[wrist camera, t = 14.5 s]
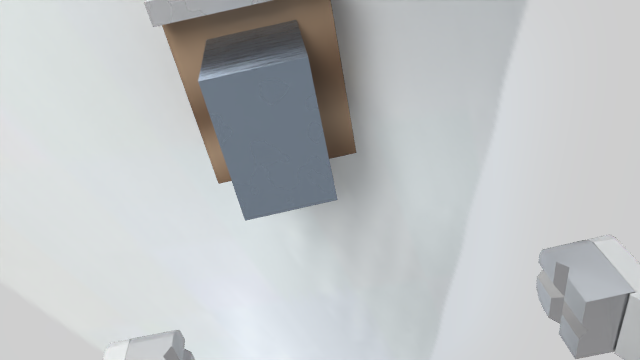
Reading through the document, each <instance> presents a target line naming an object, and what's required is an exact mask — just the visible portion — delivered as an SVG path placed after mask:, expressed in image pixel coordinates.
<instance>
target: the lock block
mask: <svg viewBox="0 0 640 360" xmlns="http://www.w3.org/2000/svg"><path fill="white" fill-rule="evenodd" d="M198 83H199V86H200V88H201V91H202V94H203V97H204V100H205V103H206V106H207V109H208V112H209V115H210V118H211V121H212V124H213V127H214V130H215V133H216V136H217V139H218V142H219V145H220V148H221V151H222V153H223V156H224V159H225V162H226V165H227V168H228V171H229V174H230V177H231V180H232V183H233V186H234V189H235V192H236V195H237V198H238V201H239V204H240V207H241V210H242V213H243V216H244V218H245V220H250V219H254V218H259V217H263V216H267V215H272V214H276V213H281V212H285V211H290V210H294V209H299V208H303V207H308V206H312V205H316V204H321V203H325V202H330V201H334V200H337V196H336V191H335V186H334V181H333V176H332V171H331V166H330V162H329V157H328V152H327V147H326V142H325V137H324V132H323V127H322V122H321V118H320V113H319V108H318V103H317V98H316V93H315V88H314V83H313V79H312V74H311V69H310V64H309V59H308V55H307V52H306V49H305V45H304V42H303V39H302V36H301V32H300V29H299V26H298V23H297V20H292V21H288V22H283V23H279V24H274V25H270V26H265V27H261V28H256V29H252V30H247V31H243V32H238V33H234V34H229V35H225V36H220V37H216V38H211V39H207V40H206V44H205V49H204V54H203V59H202V64H201V69H200V74H199V79H198Z"/></svg>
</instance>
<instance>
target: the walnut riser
mask: <svg viewBox="0 0 640 360" xmlns="http://www.w3.org/2000/svg"><path fill="white" fill-rule="evenodd" d="M144 3H145V6H146V9H147V12H148V14H149V17H150V20H151V23H152V25H153V27H155V26H160V25H162V26H163V29H164V32H165V35H166V38H167V40H168V43H169V46H170V49H171V52H172V54H173V57H174V60H175V63H176V66H177V68H178V71H179V74H180V77H181V80H182V82H183V85H184V88H185V91H186V94H187V96H188V99H189V102H190V105H191V108H192V110H193V113H194V116H195V119H196V122H197V124H198V127H199V130H200V133H201V136H202V138H203V141H204V144H205V147H206V150H207V152H208V155H209V158H210V161H211V164H212V166H213V169H214V172H215V175H216V178H217V180H218V183H224V182H228V181H232V180H231V177H230V174H229V171H228V168H227V165H226V162H225V159H224V156H223V153H222V151H221V148H220V145H219V142H218V139H217V136H216V133H215V130H214V127H213V124H212V121H211V118H210V115H209V112H208V109H207V106H206V103H205V100H204V97H203V94H202V91H201V88H200V86H199V83H198V79H199V74H200V69H201V64H202V59H203V54H204V49H205V44H206V40H207V39H211V38H216V37H220V36H225V35H229V34H234V33H238V32H243V31H247V30H252V29H256V28H261V27H265V26H270V25H274V24H279V23H283V22H288V21H292V20H297V23H298V26H299V29H300V32H301V36H302V39H303V42H304V45H305V49H306V52H307V55H308V59H309V64H310V69H311V74H312V79H313V83H314V88H315V93H316V98H317V103H318V108H319V113H320V118H321V122H322V127H323V132H324V137H325V142H326V147H327V152H328V157H329V159H330V158H335V157H339V156H344V155H348V154H353V153H356V148H355V142H354V136H353V130H352V124H351V118H350V113H349V107H348V101H347V95H346V89H345V83H344V77H343V71H342V65H341V59H340V53H339V47H338V41H337V35H336V30H335V24H334V18H333V12H332V6H331V0H145V2H144Z"/></svg>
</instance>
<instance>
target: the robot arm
mask: <svg viewBox="0 0 640 360" xmlns="http://www.w3.org/2000/svg"><path fill="white" fill-rule="evenodd" d="M539 263H540V265H541V267H542V268H543V271H542V272H541V273H540V274H539V275H538V276H537V292H538V296H539V300H540V302H541V305H542V307H543V309H544V311H545V312H546V314H547V316H548V317H549V318H551V319H552V320H554V321H556V322H558V323H560V331H559V334H560V336H561V338H562V339H563V341H564V342H565V344H566V345H567V347H568V348H569V350H570V352H571V353H572V355H573V356H574V357H575V359H578V358H583V357H588V356H593V355H599V354H604V353H609V352H614V351H615V354H616V355H618V356H619V357H621V358H622V359H624V360H640V263H639V262H638V261H637V260H636V259H635V258H634V256H633V255H632V254H631V253H630V252H629V251H628V250H627V249H626V248H625V247H624V246H623V245H622V244H621V243H620V242H619V241H618V239H616V237H614V236H612V235H606V236H601V237H597V238H592V239H588V240H582V241H578V242H573V243H570V244H565V245H561V246H556V247H552V248H548V249H543V250H542V251H541V253H540V255H539ZM184 345H185V339H184V337H183V335H182V333H181V332H180V330H174V331H169V332H164V333H158V334H153V335H148V336H143V337H137V338H132V339H129V340H123V341H118V342H113V343H110V344H109V345H108V347H107V348H106V350H105V352H104V356H103V360H195V359H194V356H193V354H192V352H190V351H188V350H186V349H184Z"/></svg>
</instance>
